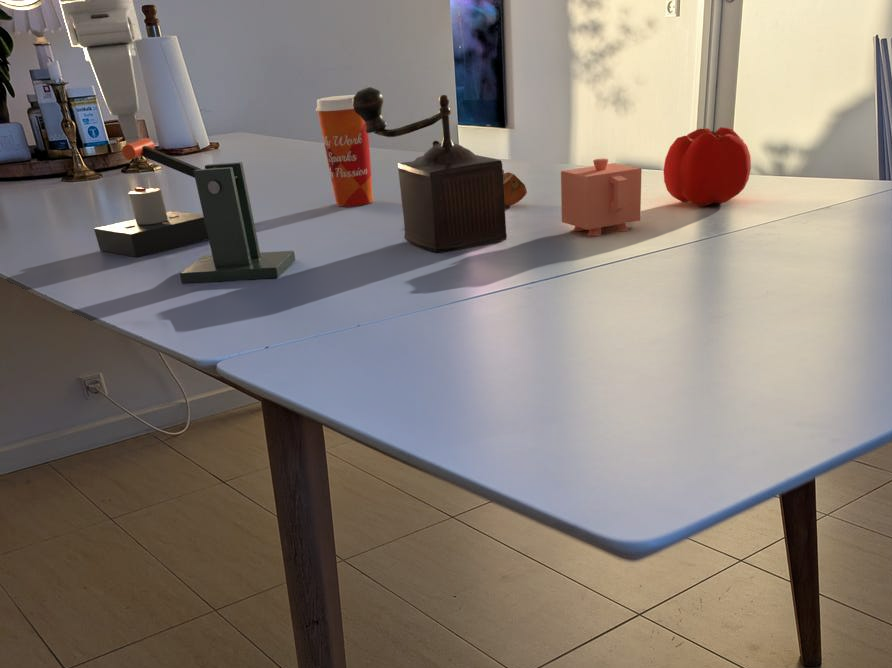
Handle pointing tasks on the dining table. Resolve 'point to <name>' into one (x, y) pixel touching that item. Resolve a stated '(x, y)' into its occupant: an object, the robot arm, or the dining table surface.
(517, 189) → the bread roll
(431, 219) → the brown coffee grinder
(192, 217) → the dial panel
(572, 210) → the pink cube teapot
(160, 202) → the knob
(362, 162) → the coffee cup
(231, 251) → the switch bracket
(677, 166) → the tomato
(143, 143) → the lever
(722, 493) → the dining table surface
